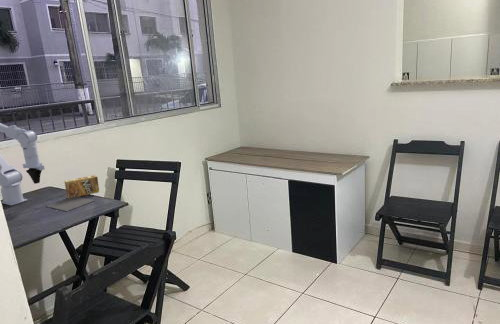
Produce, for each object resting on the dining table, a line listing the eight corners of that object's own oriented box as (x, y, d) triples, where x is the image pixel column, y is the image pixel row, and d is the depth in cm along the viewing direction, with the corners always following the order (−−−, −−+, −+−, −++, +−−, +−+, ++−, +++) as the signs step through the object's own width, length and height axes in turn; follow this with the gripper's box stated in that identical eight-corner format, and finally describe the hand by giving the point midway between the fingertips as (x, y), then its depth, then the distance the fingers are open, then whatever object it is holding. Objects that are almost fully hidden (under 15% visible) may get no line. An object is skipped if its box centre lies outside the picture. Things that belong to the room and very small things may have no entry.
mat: (46, 206, 175) (46, 206, 175) (74, 196, 188) (74, 196, 188) (66, 211, 167) (66, 211, 167) (94, 200, 180) (94, 200, 180)
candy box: (65, 182, 182) (97, 176, 191) (63, 180, 185) (95, 174, 194) (68, 198, 184) (99, 192, 193) (66, 196, 187) (97, 190, 196)
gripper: (48, 155, 175) (53, 182, 178) (30, 153, 182) (36, 179, 185) (33, 158, 169) (39, 186, 173) (16, 156, 176) (22, 183, 180)
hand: (36, 183), depth 179 cm, fingers closed
